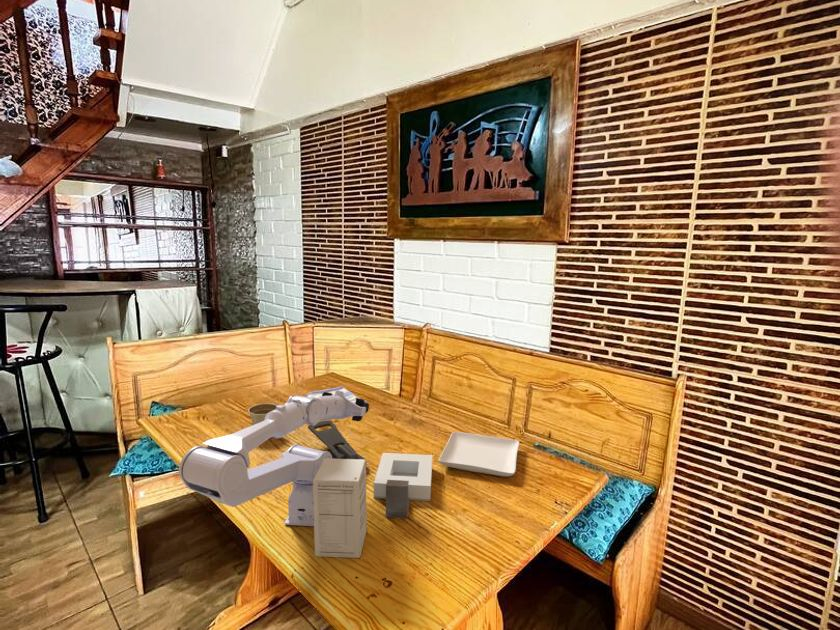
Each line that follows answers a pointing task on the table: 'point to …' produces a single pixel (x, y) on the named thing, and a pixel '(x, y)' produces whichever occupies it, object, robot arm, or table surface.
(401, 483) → the bracket
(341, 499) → the supplement box
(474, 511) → the table surface
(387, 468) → the well block
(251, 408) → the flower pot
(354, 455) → the zipper pull
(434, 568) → the table surface
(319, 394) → the dish towel
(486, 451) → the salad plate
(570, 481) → the table surface
